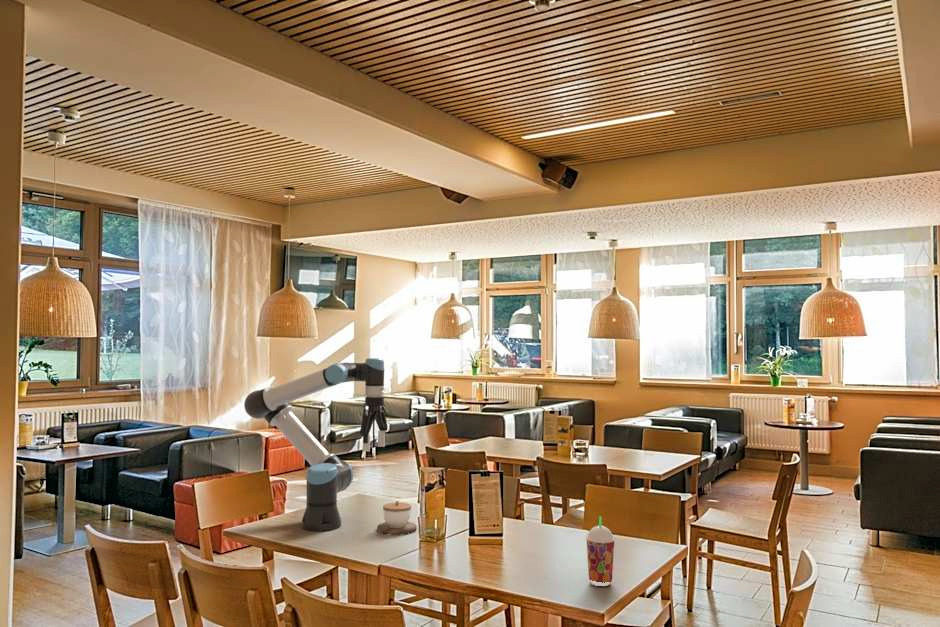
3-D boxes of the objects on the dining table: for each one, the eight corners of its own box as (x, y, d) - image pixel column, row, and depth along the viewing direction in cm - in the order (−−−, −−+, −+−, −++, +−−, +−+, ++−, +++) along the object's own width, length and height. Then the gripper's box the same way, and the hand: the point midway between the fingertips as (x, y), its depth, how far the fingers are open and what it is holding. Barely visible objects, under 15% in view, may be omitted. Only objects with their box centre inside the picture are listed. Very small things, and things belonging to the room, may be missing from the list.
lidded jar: (378, 528, 272) (378, 503, 273) (389, 521, 283) (389, 497, 283) (404, 530, 269) (404, 505, 270) (415, 523, 280) (415, 499, 280)
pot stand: (370, 533, 271) (370, 529, 271) (387, 523, 285) (387, 519, 285) (407, 536, 266) (407, 532, 266) (422, 526, 281) (422, 523, 281)
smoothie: (611, 579, 220) (611, 513, 220) (617, 588, 211) (617, 520, 212) (583, 579, 219) (583, 513, 220) (589, 589, 211) (589, 520, 212)
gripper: (368, 398, 279) (368, 453, 278) (395, 394, 303) (395, 445, 302) (351, 398, 282) (351, 452, 281) (379, 393, 305) (379, 444, 304)
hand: (374, 449), depth 291 cm, fingers open, 13 cm apart
